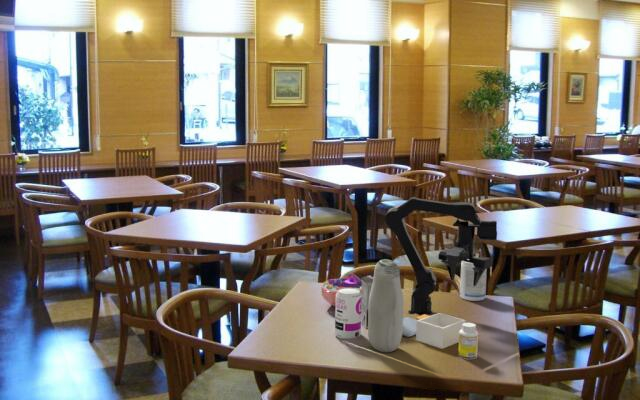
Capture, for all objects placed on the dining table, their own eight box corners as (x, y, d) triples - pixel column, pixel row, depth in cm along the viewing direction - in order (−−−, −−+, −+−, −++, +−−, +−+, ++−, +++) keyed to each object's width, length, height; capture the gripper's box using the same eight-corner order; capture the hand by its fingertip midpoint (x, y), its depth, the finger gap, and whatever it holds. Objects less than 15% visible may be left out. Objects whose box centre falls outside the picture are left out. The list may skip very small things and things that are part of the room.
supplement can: (363, 333, 233) (364, 288, 230) (356, 342, 225) (357, 295, 223) (339, 330, 235) (340, 286, 233) (331, 338, 228) (332, 292, 225)
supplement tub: (490, 299, 274) (492, 261, 272) (472, 303, 269) (474, 264, 266) (472, 293, 282) (474, 256, 279) (454, 296, 277) (456, 259, 274)
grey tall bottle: (407, 352, 217) (411, 262, 213) (380, 358, 212) (383, 266, 207) (387, 342, 225) (390, 255, 221) (361, 348, 220) (363, 258, 215)
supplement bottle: (463, 352, 218) (465, 320, 216) (480, 357, 214) (482, 324, 213) (454, 357, 213) (456, 324, 212) (471, 362, 210) (473, 329, 208)
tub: (415, 342, 226) (416, 320, 225) (438, 333, 235) (439, 312, 233) (442, 350, 219) (443, 328, 218) (464, 341, 228) (465, 320, 227)
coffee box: (385, 321, 246) (387, 275, 243) (391, 327, 239) (393, 280, 237) (359, 322, 243) (361, 276, 241) (365, 329, 237) (367, 281, 235)
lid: (382, 333, 235) (382, 324, 235) (415, 319, 247) (415, 311, 247) (408, 341, 228) (408, 332, 227) (440, 327, 240) (440, 318, 240)
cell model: (309, 305, 262) (310, 275, 260) (350, 296, 274) (351, 267, 273) (341, 317, 249) (341, 285, 247) (382, 307, 262) (383, 276, 260)
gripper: (429, 237, 249) (427, 281, 252) (476, 247, 236) (473, 293, 239) (448, 233, 257) (446, 276, 260) (494, 242, 244) (491, 287, 247)
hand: (463, 283), depth 251 cm, fingers open, 9 cm apart
